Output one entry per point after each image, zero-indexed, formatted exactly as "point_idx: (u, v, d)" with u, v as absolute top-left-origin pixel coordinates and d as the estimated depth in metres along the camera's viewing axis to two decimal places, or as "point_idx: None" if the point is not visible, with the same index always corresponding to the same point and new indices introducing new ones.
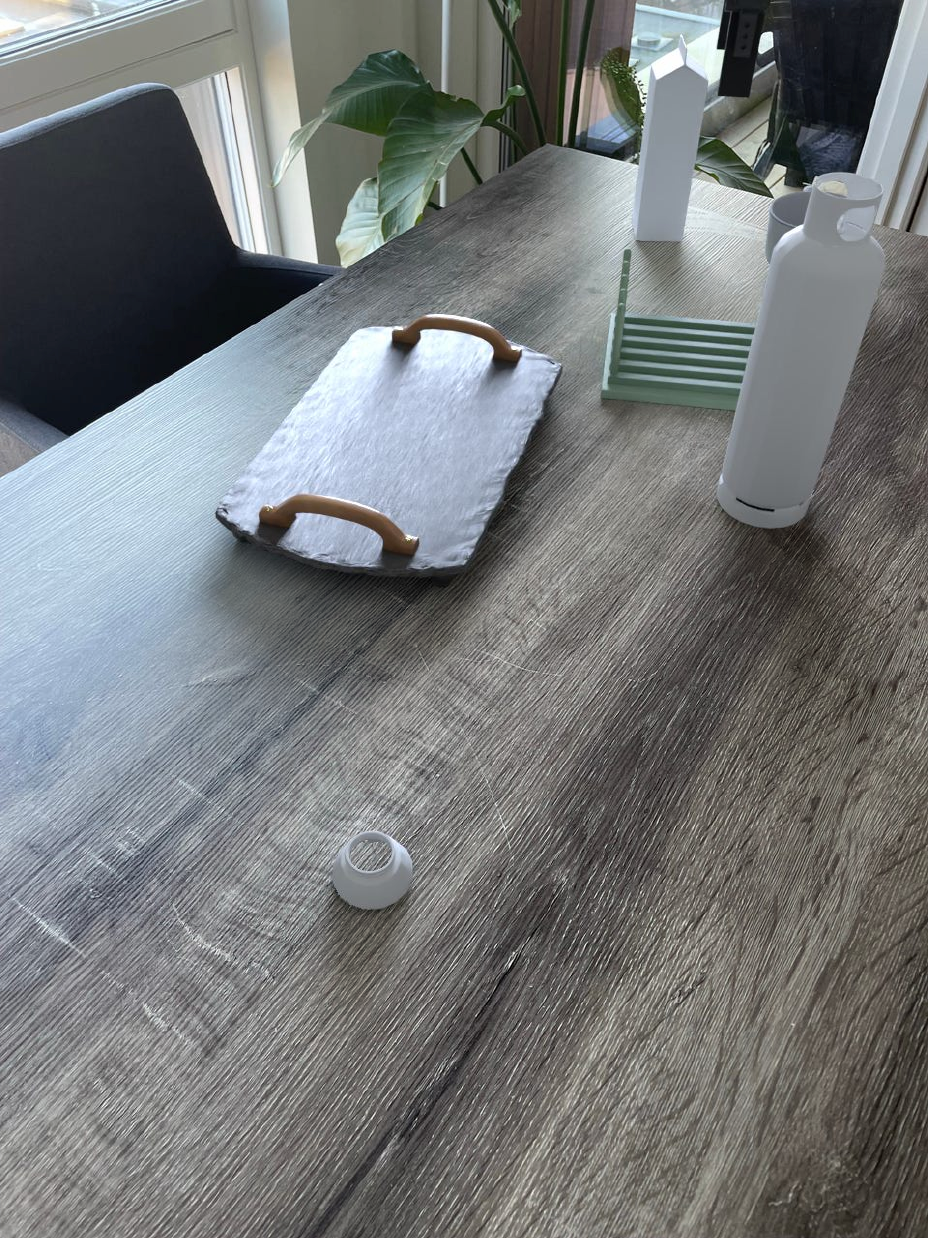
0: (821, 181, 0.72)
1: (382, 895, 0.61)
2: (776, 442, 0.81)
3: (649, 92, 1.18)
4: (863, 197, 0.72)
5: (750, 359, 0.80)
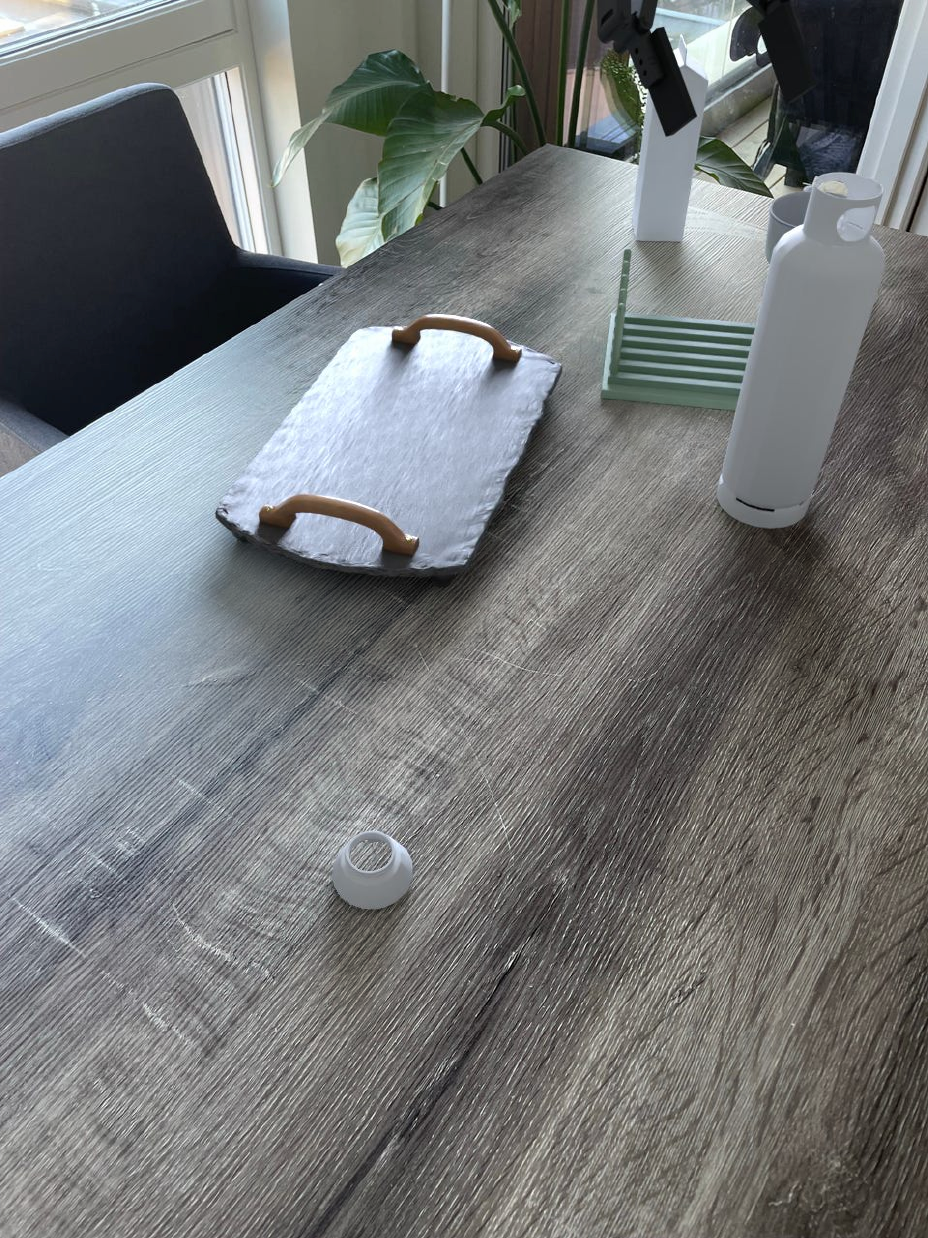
0: (821, 181, 0.72)
1: (382, 895, 0.61)
2: (776, 442, 0.81)
3: None
4: (863, 197, 0.72)
5: (750, 359, 0.80)
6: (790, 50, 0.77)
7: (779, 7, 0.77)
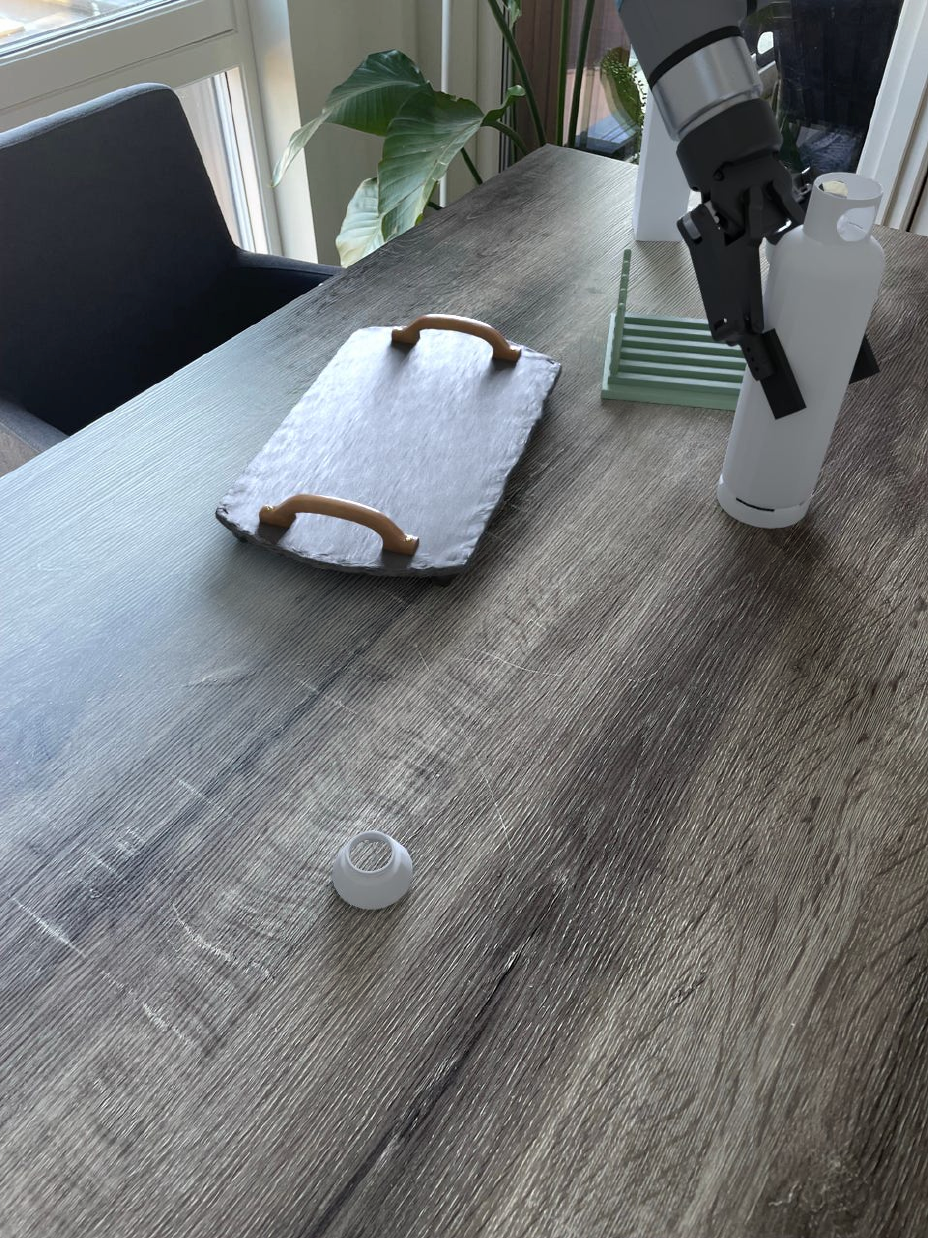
0: (821, 181, 0.72)
1: (382, 895, 0.61)
2: (776, 442, 0.81)
3: (649, 92, 1.18)
4: (863, 197, 0.72)
5: None
6: None
7: None
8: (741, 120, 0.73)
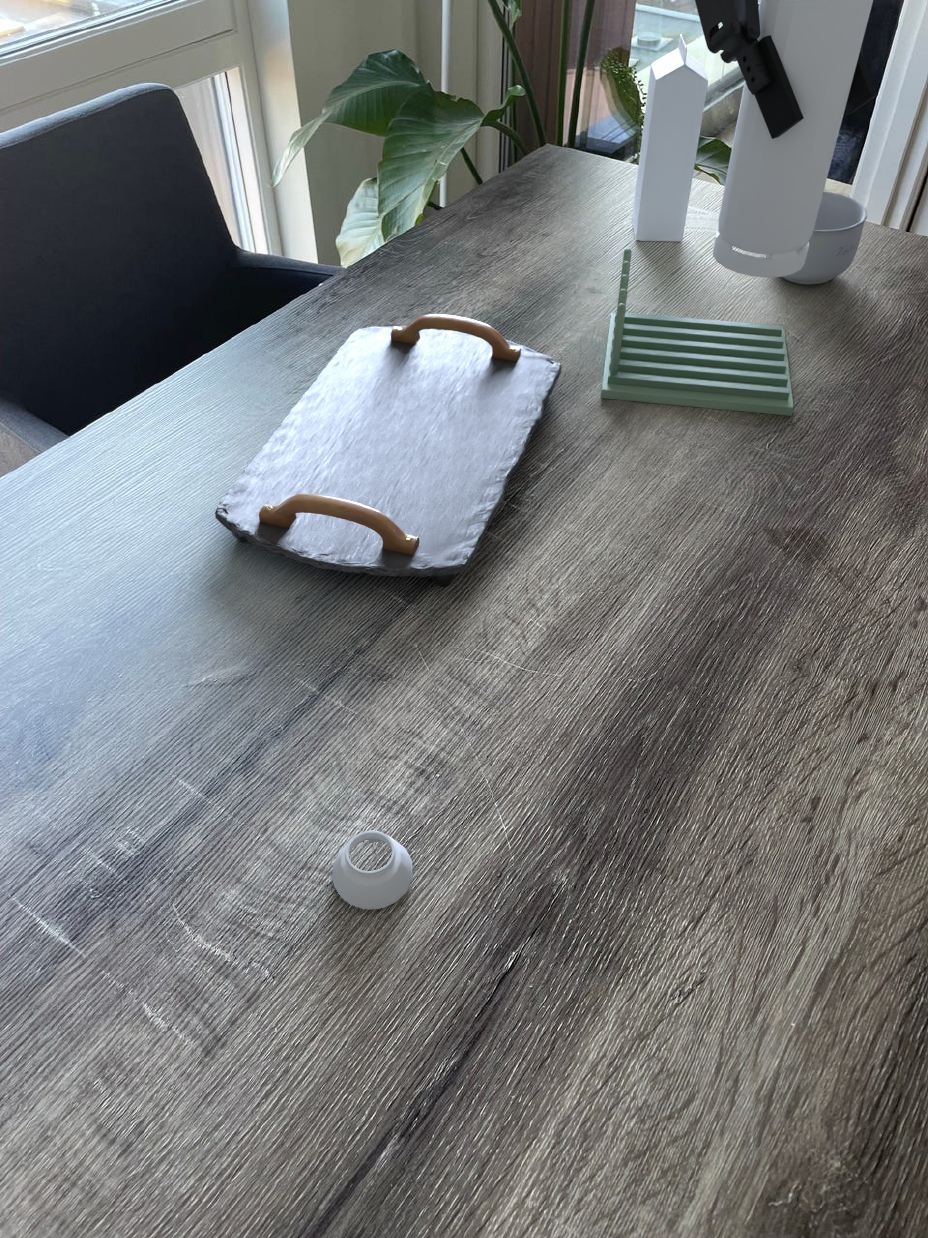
0: None
1: (382, 895, 0.61)
2: (773, 171, 0.80)
3: (649, 92, 1.18)
4: None
5: None
6: None
7: None
8: None
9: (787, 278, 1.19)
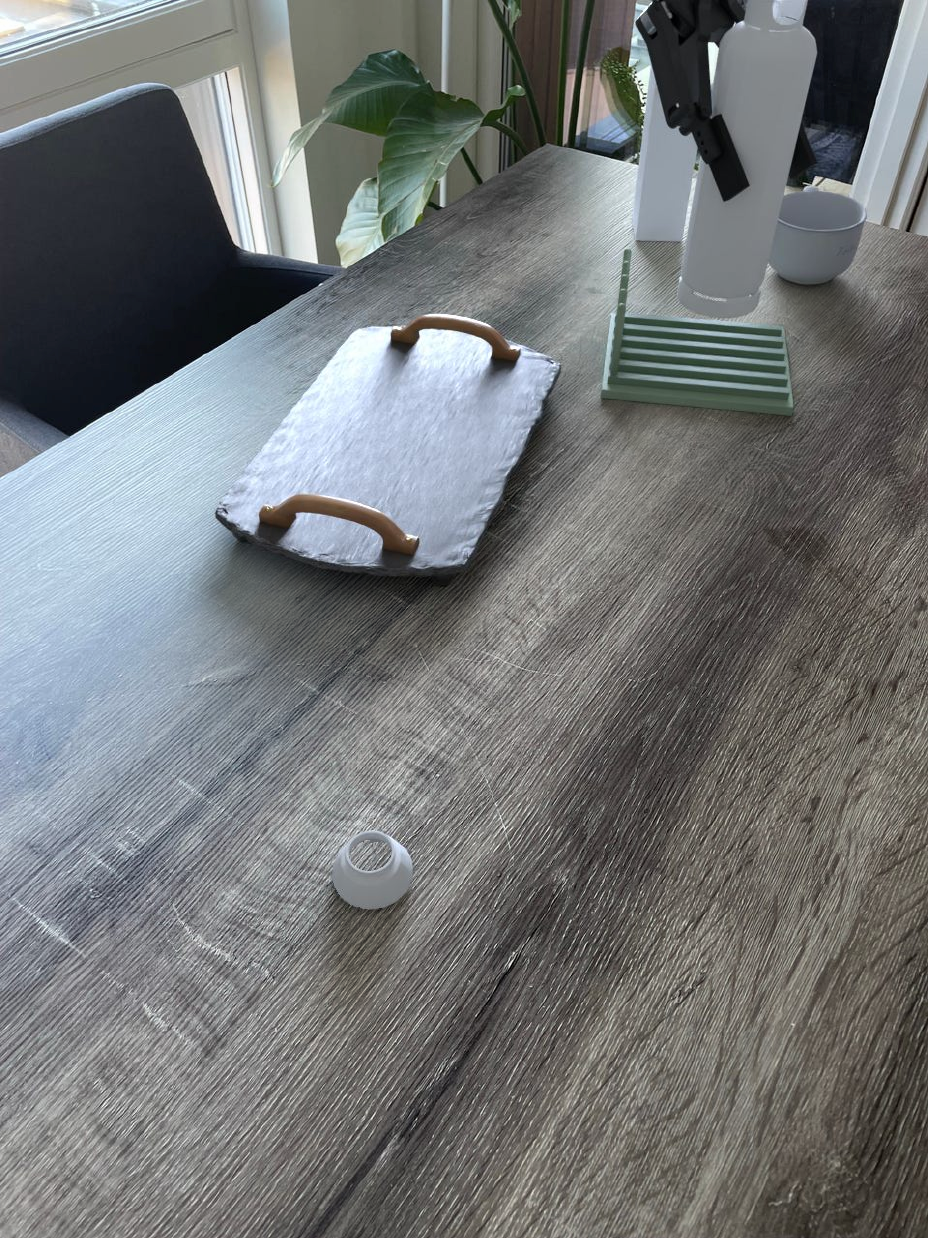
0: None
1: (382, 895, 0.61)
2: (726, 228, 0.92)
3: (649, 92, 1.18)
4: None
5: None
6: None
7: None
8: None
9: (787, 278, 1.19)
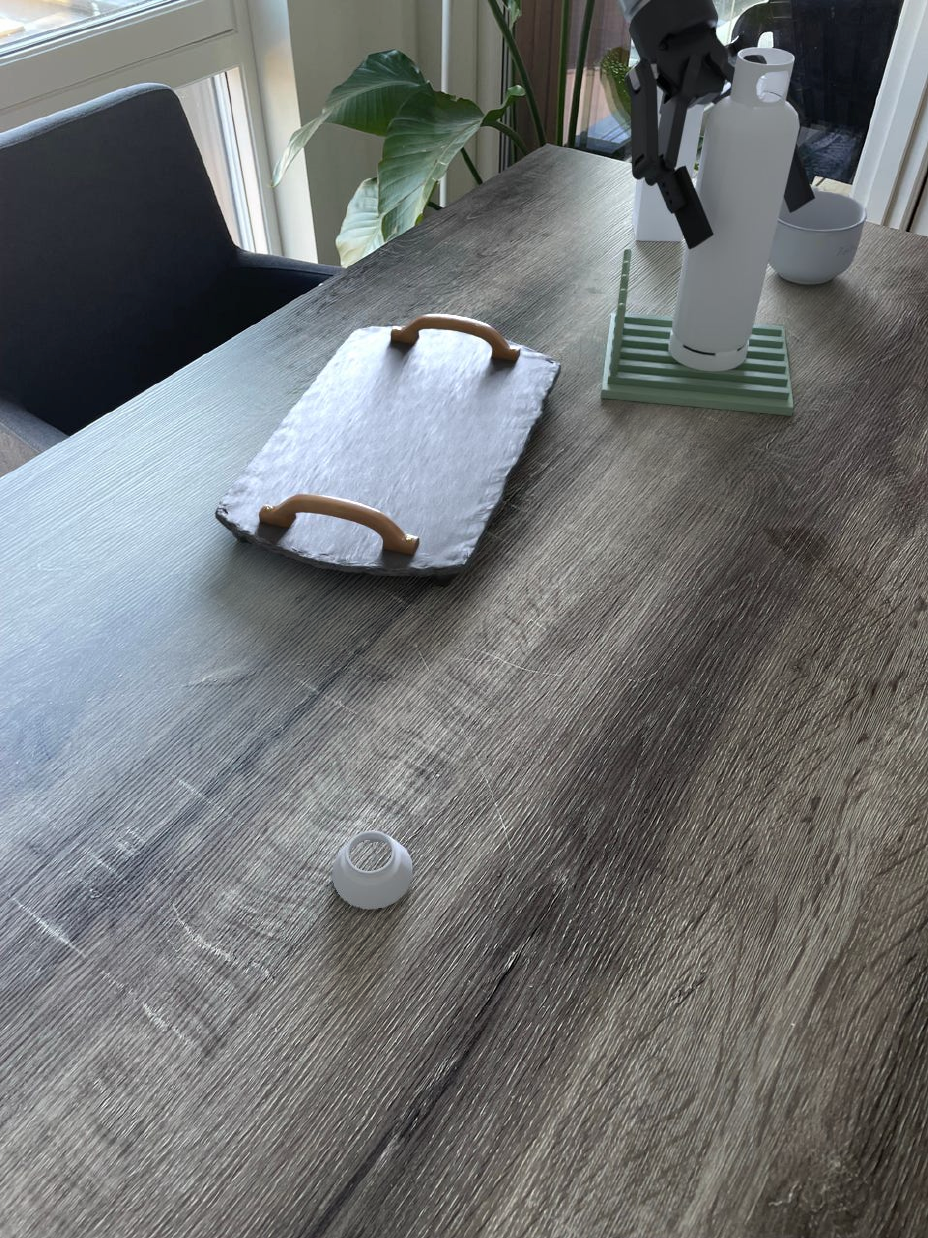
0: (744, 55, 0.86)
1: (382, 895, 0.61)
2: (714, 288, 0.96)
3: None
4: None
5: None
6: (791, 171, 0.95)
7: None
8: None
9: (787, 278, 1.19)
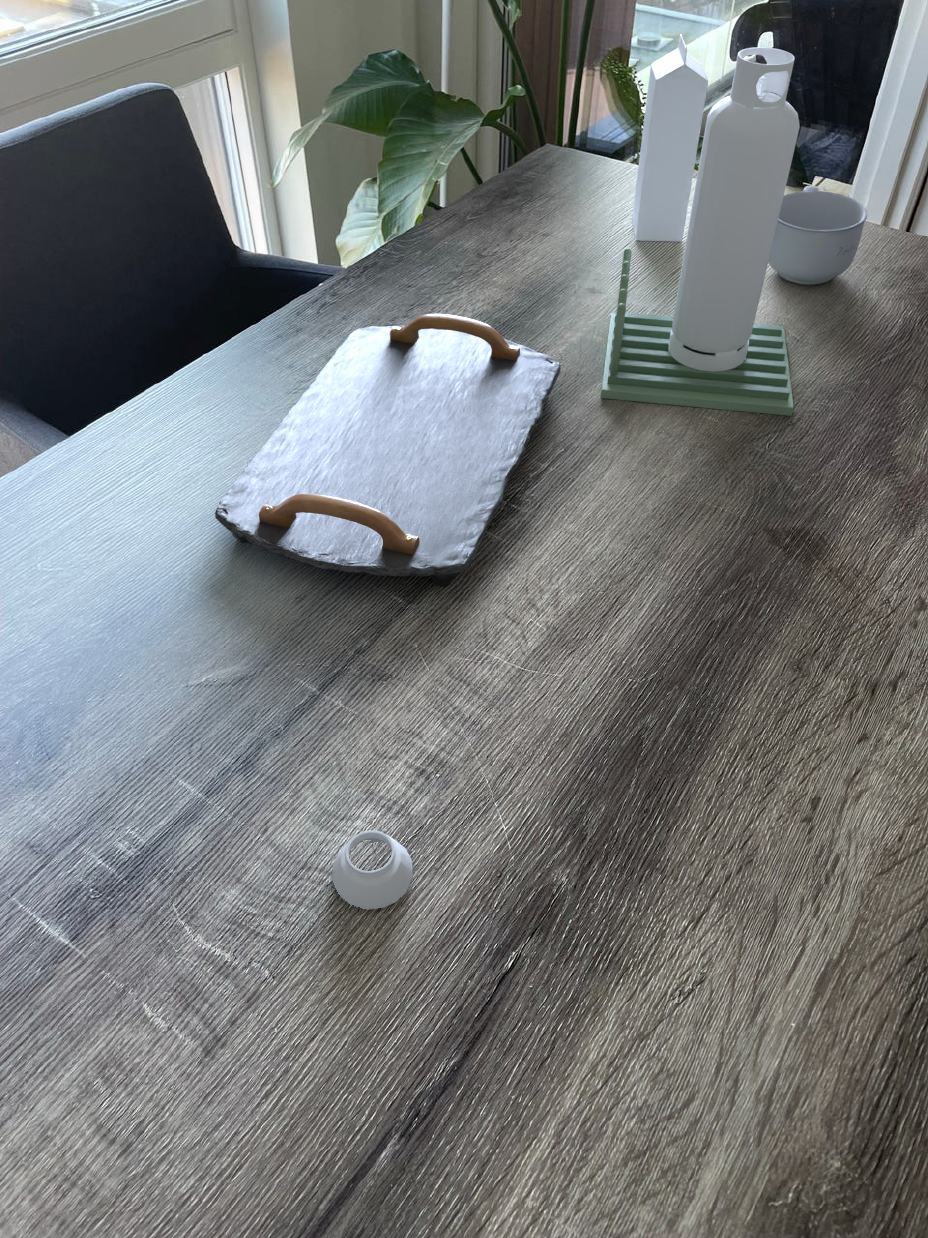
0: (744, 55, 0.86)
1: (382, 895, 0.61)
2: (714, 288, 0.96)
3: (649, 92, 1.18)
4: None
5: (691, 216, 0.95)
6: None
7: None
8: None
9: (787, 278, 1.19)
